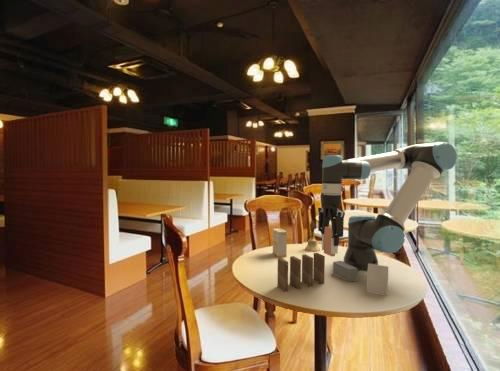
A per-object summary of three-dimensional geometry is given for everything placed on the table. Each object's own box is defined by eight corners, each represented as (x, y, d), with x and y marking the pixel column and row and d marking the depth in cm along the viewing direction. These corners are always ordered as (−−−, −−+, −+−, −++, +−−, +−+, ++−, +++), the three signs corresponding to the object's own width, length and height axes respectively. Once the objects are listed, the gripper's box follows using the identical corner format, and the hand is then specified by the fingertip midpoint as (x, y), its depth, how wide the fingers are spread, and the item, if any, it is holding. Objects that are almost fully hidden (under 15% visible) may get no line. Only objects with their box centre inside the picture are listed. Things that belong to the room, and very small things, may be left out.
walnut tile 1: (281, 285, 110) (281, 257, 109) (287, 291, 105) (288, 261, 105) (277, 286, 109) (277, 258, 109) (284, 291, 105) (284, 262, 104)
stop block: (340, 271, 125) (340, 260, 124) (357, 280, 116) (357, 268, 115) (332, 273, 123) (333, 261, 123) (349, 281, 114) (349, 269, 114)
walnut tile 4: (316, 279, 117) (316, 252, 116) (324, 283, 112) (324, 256, 111) (313, 279, 116) (313, 253, 115) (320, 284, 111) (321, 256, 111)
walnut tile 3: (305, 281, 114) (305, 254, 114) (312, 286, 110) (313, 258, 109) (301, 281, 114) (302, 254, 113) (309, 286, 109) (309, 258, 108)
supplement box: (287, 256, 145) (287, 231, 145) (278, 257, 144) (278, 232, 143) (280, 252, 153) (281, 228, 152) (272, 252, 152) (272, 228, 151)
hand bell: (305, 251, 155) (305, 222, 154) (304, 247, 163) (304, 219, 162) (320, 251, 154) (321, 222, 153) (318, 247, 162) (319, 219, 161)
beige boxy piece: (386, 295, 102) (387, 268, 101) (366, 291, 105) (367, 264, 105) (387, 292, 105) (388, 265, 104) (368, 287, 108) (369, 262, 108)
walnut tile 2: (293, 283, 112) (293, 256, 111) (300, 288, 108) (300, 259, 107) (289, 284, 112) (290, 256, 111) (296, 289, 107) (297, 260, 106)
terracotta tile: (326, 252, 118) (327, 226, 117) (335, 256, 113) (335, 228, 113) (323, 252, 117) (324, 226, 117) (331, 256, 113) (332, 228, 112)
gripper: (310, 192, 121) (308, 246, 122) (339, 196, 104) (337, 259, 106) (324, 192, 124) (322, 245, 125) (355, 196, 107) (353, 257, 109)
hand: (329, 251), depth 115 cm, fingers closed on terracotta tile, 5 cm apart
